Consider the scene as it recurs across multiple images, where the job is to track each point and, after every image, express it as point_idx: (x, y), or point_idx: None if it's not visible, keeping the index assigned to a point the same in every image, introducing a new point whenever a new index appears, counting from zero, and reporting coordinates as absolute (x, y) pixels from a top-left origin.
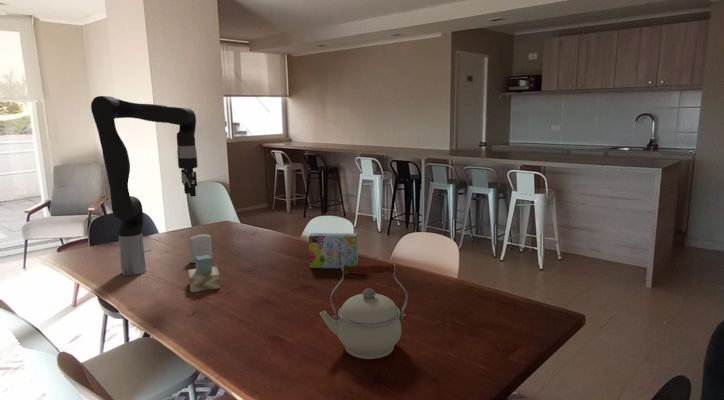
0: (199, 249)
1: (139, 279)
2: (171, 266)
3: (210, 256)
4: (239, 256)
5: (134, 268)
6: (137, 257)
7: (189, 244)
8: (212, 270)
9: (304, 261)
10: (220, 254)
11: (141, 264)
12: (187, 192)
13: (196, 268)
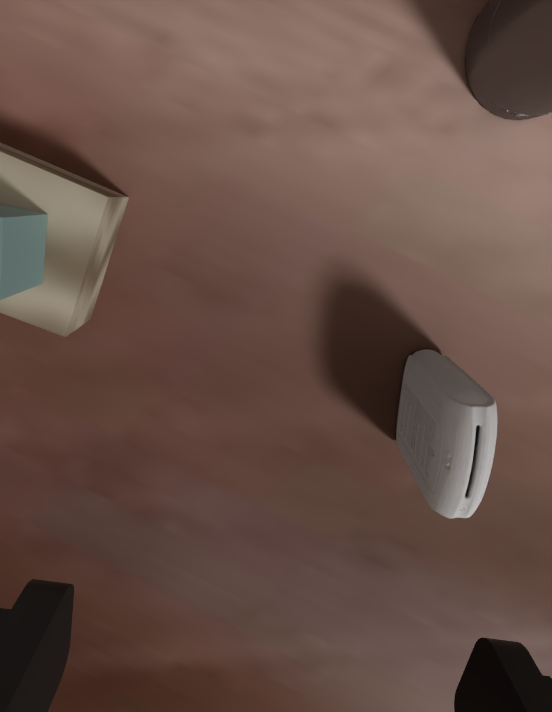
0: (419, 411)
1: (382, 23)
2: (451, 251)
3: (397, 441)
4: (329, 537)
5: (486, 19)
6: (515, 23)
7: (482, 389)
8: None
9: None
10: None
11: (491, 66)
12: (479, 691)
13: (18, 210)
